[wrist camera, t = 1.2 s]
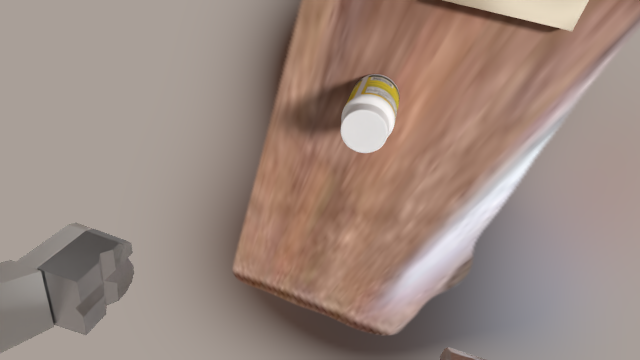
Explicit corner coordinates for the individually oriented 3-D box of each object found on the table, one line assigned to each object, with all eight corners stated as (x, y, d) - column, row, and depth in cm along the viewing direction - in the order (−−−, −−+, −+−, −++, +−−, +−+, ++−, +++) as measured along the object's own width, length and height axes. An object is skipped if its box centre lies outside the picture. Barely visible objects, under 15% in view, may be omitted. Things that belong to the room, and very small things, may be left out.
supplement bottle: (362, 123, 41) (347, 163, 34) (345, 82, 39) (326, 115, 32) (406, 109, 39) (400, 148, 32) (391, 65, 37) (380, 97, 30)
